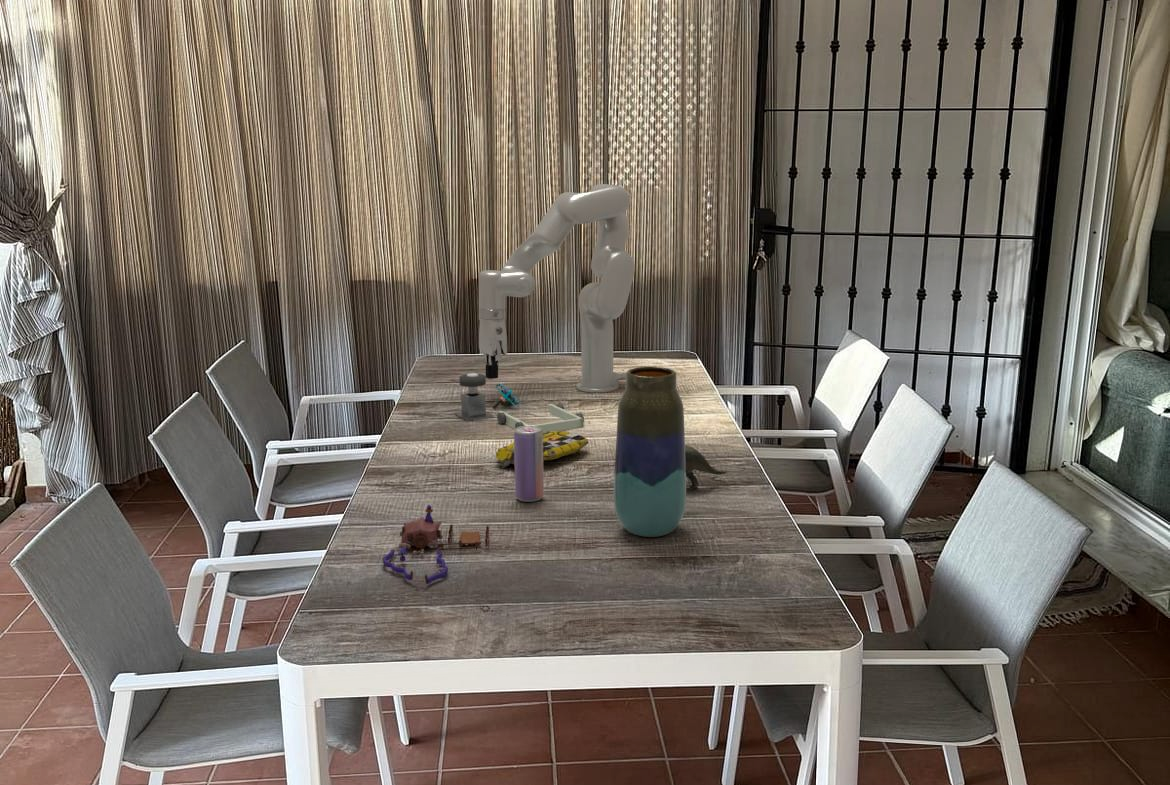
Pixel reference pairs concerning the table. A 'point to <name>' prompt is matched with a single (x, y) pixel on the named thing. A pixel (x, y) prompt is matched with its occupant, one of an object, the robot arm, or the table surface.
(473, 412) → the axle mount
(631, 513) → the vase
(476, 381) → the wheel
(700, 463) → the dinosaur figurine
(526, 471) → the beverage can
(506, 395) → the stick construction toy
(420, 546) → the playset
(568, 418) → the chassis bay
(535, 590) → the table surface
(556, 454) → the toy spacecraft
